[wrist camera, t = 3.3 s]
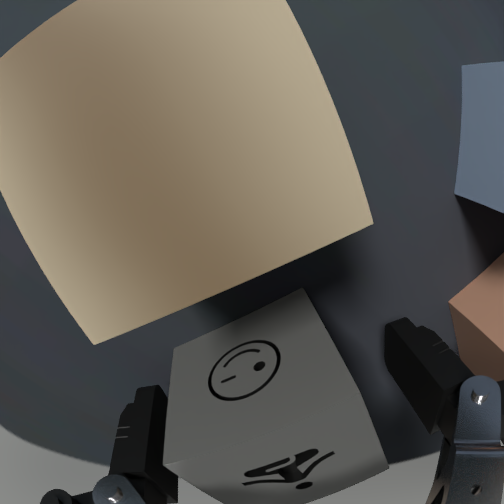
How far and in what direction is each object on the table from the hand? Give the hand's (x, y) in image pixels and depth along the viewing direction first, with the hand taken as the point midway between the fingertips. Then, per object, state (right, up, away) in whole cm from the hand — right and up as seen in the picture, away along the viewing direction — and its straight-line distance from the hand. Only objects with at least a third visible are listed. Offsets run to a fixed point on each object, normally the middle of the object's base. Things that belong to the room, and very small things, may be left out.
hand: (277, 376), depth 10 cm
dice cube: (0, 0, +2) cm, 2 cm away
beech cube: (-3, +8, -2) cm, 8 cm away
